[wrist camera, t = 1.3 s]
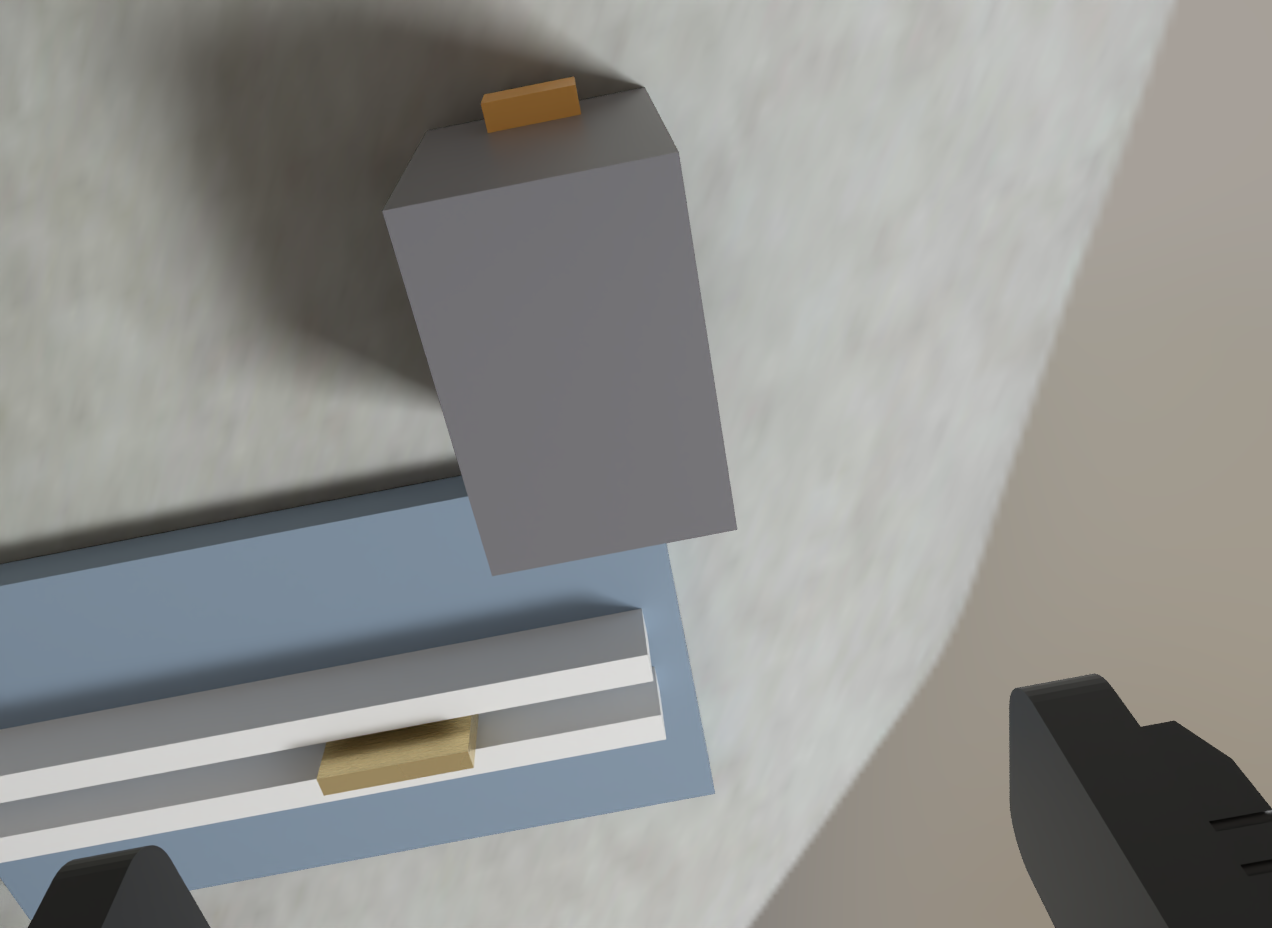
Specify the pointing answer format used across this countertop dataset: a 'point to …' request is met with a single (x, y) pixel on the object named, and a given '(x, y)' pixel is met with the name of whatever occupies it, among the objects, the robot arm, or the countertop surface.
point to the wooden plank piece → (398, 755)
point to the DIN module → (564, 325)
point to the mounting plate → (327, 689)
